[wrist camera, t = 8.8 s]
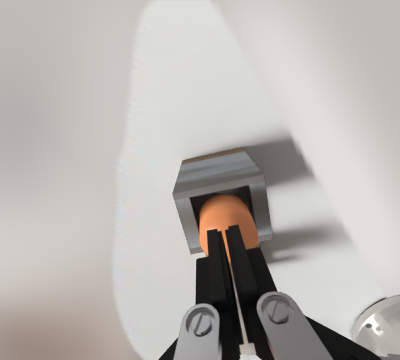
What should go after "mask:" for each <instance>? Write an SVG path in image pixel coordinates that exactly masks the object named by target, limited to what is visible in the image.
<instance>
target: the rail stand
mask: <svg viewBox="0 0 400 360" xmlns="http://www.w3.org/2000/svg"><path fill="white" fill-rule="evenodd" d="M218 194H233V195H236V196H238V197H239V198H241V199H242V200H243V201H244V202H245V203H246V205H247V207H248V209H249V212H250V214H251V216H252V219H253V221H254V224H255V226H256V228H257V231H258V242H257V245H256V247H255V248H257V247H260V243H259V242H260V241H265V240H271V239H273V238H272V230H271V223H270V215H269V208H268V200H267V193H266V186H265V178H264V174H263V173H262V171H261V170H260V169H259V168H258V167H257V165H256V164H255V163H254V162H253V160H252V159H251V158H250V157H249V156H248V154H247V153H246V152H245V151H244V149H243V148H242V147H241V148H237V149H232V150H228V151H223V152H219V153H214V154H210V155H205V156H201V157H196V158H192V159H188V160H183V161H182V164H181V167H180V171H179V174H178V177H177V180H176V184H175V187H174V190H173V197H174V201H175V204H176V207H177V210H178V214H179V217H180V220H181V224H182V227H183V230H184V233H185V237H186V240H187V243H188V247H189V250H190V253H191V254H195V253H200V252H204V251H203V249H202V248H201V245H200V239H199V236H200V211H201V208H202V206H203V204H204V203H205V202H206V201H207V200H208V199H209V198H211V197H213V196H215V195H218ZM205 254H206V253H205ZM206 257H208V255H207V254H206Z"/></svg>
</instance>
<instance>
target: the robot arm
mask: <svg viewBox="0 0 400 360" xmlns="http://www.w3.org/2000/svg"><path fill="white" fill-rule="evenodd" d="M228 228H229V229H226V230H225V234H226V239H227V245H228V250H229V255H230V261H231V266H232V271H233V276H234V282H235V287H236V292H237V296H238V301H239V305H240V309H241V314H242V318H243V322H244V327H245V331H246V336H247V340H248V344H250V343H254V347H255V351H256V356H258V357H259V358H260V359H262V360H400V295H397V296H393V297H390V298H387V299H384V300H382V301H380V302H378V303H376V304H374V305H373V306H371V307H370V308H368V309H367V310H366V311H365V312H364V313H363V314H362V315H361V316H360V317H359V318H358V319H357V321H356V322H355V325H354V327H353V331H352V339H353V341H351V340H350V339H348V338H346V337H344V336H342V335H340V334H338V333H337V332H335V331H333V330H331V329H329V328H327V327H325V326H323V325H322V324H320V323H318V322H316V321H314V320H312V319H310V318H309V317H307V316H305V315H304V314H303V313H302V311H301V310H300V308H299V307H298V305H297V304H296V302H295V301H294V300H293V299H292V298H291V297H290V296H288V295H287V294H284V293H282V292H278V291H277V289H276V286H275V284H274V281H273V279H272V276H271V274H270V271H269V269H268V266H267V264H266V261H265V259H264V256H263V254H262V251H261V249H260V247H257V248H251V249H246V248H245V245H244V241H243V238H242V235H241V232H240V228H239V225H238V224H237V225H232V226H228ZM207 244H208V257H203V258H198V259H197V260H196V305H195V306H193V307H192V308H190V309H189V310H188V311H187V312H186V314H185V315H184V317H183V320H182V323H181V328H180V333H179V337H178V338H177V339H176V340H175V341H174V343H173V344H172V345H171V346H170V347H169V348H168V349H167V351H166V352H165V353H164V354H163V355H162V356H161V357H160V358H159V360H239V359H240V355H241V352H240V346H239V345H243V344H244V340H243V334H242V329H241V323H240V318H239V312H238V307H237V301H236V296H235V290H234V285H233V279H232V274H231V269H230V265H229V261H228V256H227V252H226V248H225V243H224V239H223V235H222V231H218V230H217V229H212V230H207Z"/></svg>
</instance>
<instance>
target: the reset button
mask: <svg viewBox="0 0 400 360" xmlns="http://www.w3.org/2000/svg"><path fill="white" fill-rule="evenodd" d="M237 224H238V225H239V228H240V232H241V235H242V238H243V241H244V245H245V248H246V249H251V248H255V247H256V245H257V242H258V231H257V228H256V226H255V224H254V221H253V219H252V216H251V214H250V212H249V209H248V207H247V205H246V203H245V202H244V201H243V200H242V199H241V198H239V197H238V196H236V195H233V194H218V195H215V196H213V197H211V198H209V199H208V200H207V201H206V202H205V203H204V204H203V206H202V208H201V211H200V236H199V239H200V245H201V248H202V249H203V251H204V252H205V253H206V254H207V255H208V244H207V230H212V229H217V230H218V231H222V235H223V239H224V243H225V248H226V252H227V256H228V261H229V262H231V261H230V255H229V250H228V245H227V239H226V234H225V230H226V229H229V228H228V226H232V225H237Z"/></svg>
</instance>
